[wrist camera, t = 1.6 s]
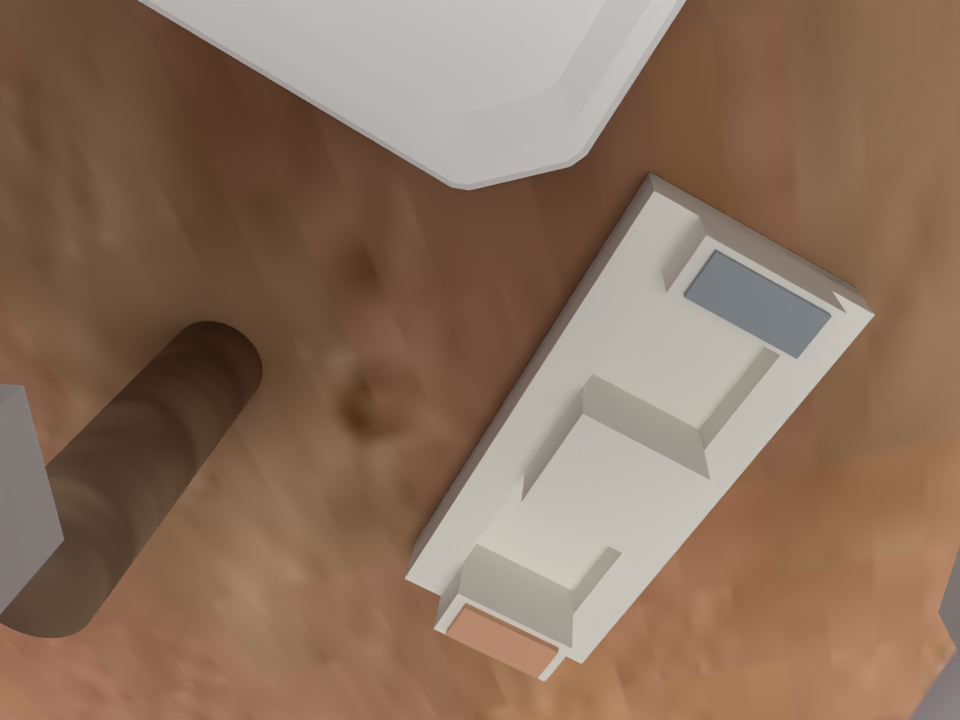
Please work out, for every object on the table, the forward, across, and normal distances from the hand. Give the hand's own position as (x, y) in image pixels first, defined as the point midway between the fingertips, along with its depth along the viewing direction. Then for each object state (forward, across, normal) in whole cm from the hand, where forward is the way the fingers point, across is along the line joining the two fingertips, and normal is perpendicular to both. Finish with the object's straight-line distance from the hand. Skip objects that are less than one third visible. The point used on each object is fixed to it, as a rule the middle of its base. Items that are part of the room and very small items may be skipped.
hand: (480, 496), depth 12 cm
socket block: (+22, +3, -12) cm, 25 cm away
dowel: (+22, -14, -10) cm, 28 cm away
